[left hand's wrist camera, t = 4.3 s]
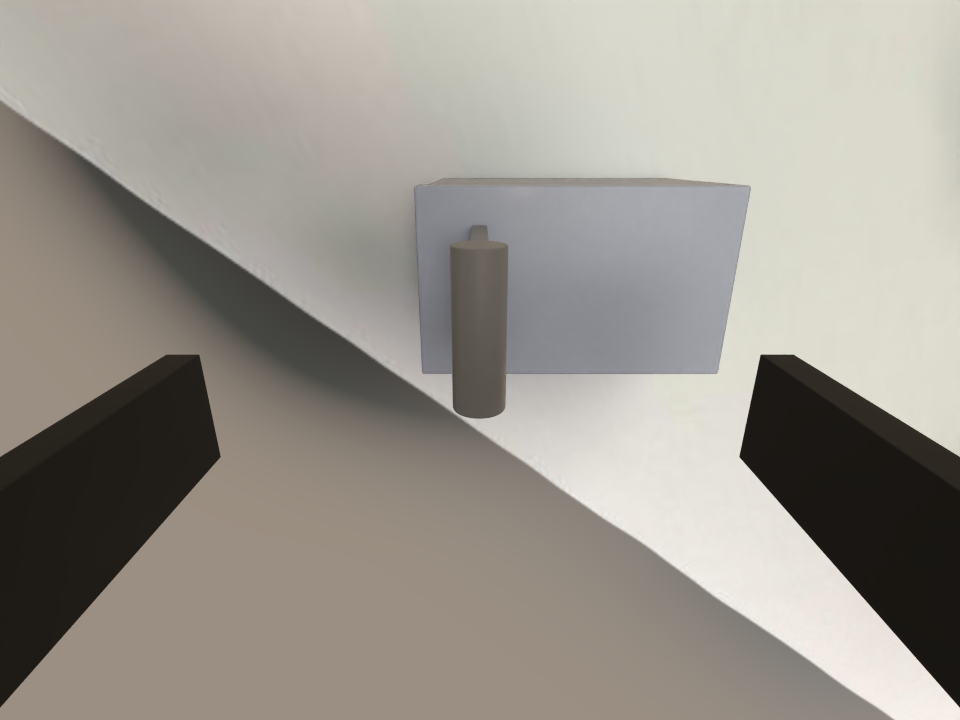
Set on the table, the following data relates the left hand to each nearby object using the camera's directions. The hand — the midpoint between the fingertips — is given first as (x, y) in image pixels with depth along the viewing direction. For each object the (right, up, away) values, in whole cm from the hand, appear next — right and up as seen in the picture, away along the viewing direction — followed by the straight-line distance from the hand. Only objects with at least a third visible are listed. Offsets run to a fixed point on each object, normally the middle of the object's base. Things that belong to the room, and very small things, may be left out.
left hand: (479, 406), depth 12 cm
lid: (+5, +5, +13) cm, 15 cm away
